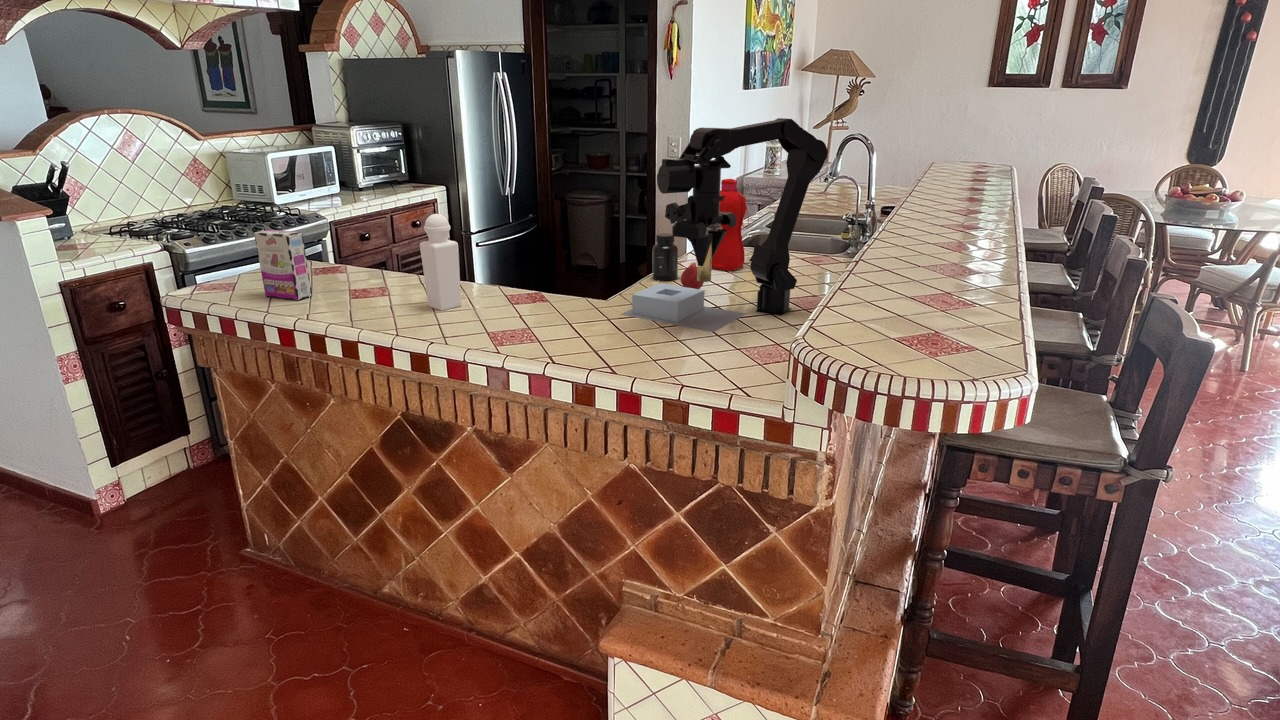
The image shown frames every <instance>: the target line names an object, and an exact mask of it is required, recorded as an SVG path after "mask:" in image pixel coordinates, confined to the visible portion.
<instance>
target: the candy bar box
mask: <svg viewBox="0 0 1280 720" xmlns="http://www.w3.org/2000/svg"><path fill="white" fill-rule="evenodd" d="M253 235H254V240H255V245H256V250H257V256H258V261H259V266H260V267H259V268H260V273H261V278H262V285H263V289H264V295H265V297H266V296H270V297H269V298H272V297H278V298H277V299H280V298H284V299H283V300H289V299H292V300H291V301H297V300H299V301H301V300H300V299H302V300H304V299H303V298H305V299H307V298H306V297H309V296H311V295H312V296H313V292H312V286H311V280H310V273H309V266H308V261H307V255H306V248H305V243H304V236H303V232H302V231H293V230H281V229H280V230H277V229H266V230H265V229H264V230H259V231H256V232H253ZM312 296H311V297H312ZM309 298H310V297H309Z"/></svg>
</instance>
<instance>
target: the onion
mask: <svg viewBox="0 0 1280 720" xmlns="http://www.w3.org/2000/svg"><path fill="white" fill-rule="evenodd" d="M697 270H698V266H697V262H695V261H694V262H693V261H692V262H691V263H690V265H689V266H687V267H686V268H685V269H684V270H683V271H682V273H681V277H680V284H681V285H682V287H687V288H693V289H700V290H701V288H702V287H703V285H704V283H705V282H700V281H697Z"/></svg>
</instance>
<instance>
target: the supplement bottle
mask: <svg viewBox="0 0 1280 720" xmlns="http://www.w3.org/2000/svg"><path fill="white" fill-rule="evenodd" d="M655 236H656V238H655V242H656V244H654V245H653V246H652V279H653V280H655V281H657V280H659V281H658V282H673V281H676V280H677V279H678V274H679V271H678V270H679V269H678V267H679V248H678V245H677V244H675V243H674V242H675V236H672V233H668V232H667V233H664V232H663V233H657V234H656V235H655ZM653 273H654V274H653ZM672 280H673V281H672Z"/></svg>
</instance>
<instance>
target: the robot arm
mask: <svg viewBox="0 0 1280 720" xmlns="http://www.w3.org/2000/svg"><path fill="white" fill-rule="evenodd" d="M776 140H777V141H778V143H779V144H780V146H781V148H782V149H783V150H784V151H785V152H786V153H787V158H786V171H787V179H786V182H785V184H784V185H785V186H784V188H783V191H782V193H781V197H780V200H779V203H778V205H777V209H776V211H775V215H774V218H773V221H772V223H771V226H770V229H769V233H768V235H767V238H766V240H764V242H763V243H762V244H758V243H755V244H754V248H753V252H752V255H751V257H750V258H749V262H750V268H749V269H750V271H751V273H752V275H753V276H754V277H755V281H756V283H757V284H759V290H757V296H756V297H757V299H756V300H757V301H756V307H757V308H756V309H755V312H757V313H761V314H762V313H763V314H769V315H774V316H780V317H781V316H783V315H785V314H786V313H788V312H790V311H791V310H792V309H793V308H792V307H790V298H791V290H794V289H795V288H796V285H797V281H798V280H797V278H795V276H794V275H793V274H792V273H791V272H790V271H789V265H790V261H791V258H790V257H791V256H790V252H789V251H790V250H789V245H790V241H791V238H792V235H793V233H794V230H795V226H796V223H797V220H798V217H799V214H800V211H801V208H802V205H803V203H804V200H805V198H806V197H805V196H806V194H807V191H808V188H809V185H810V183H811V182H812V181H813V180H814V179H815V177H817V175H819V173H820V172H821V170H822V168H823V167H824V165H825V162H826V161H827V158H828V153H829V149H828V147H827V144H826V143H825V142H824V141H823V140H821V139H818V138H816V137H815V136H814V135H813V134H812V133H810V132H808V131H807V130H806V129H804V128H802V127H801V126H800V125H799V124H798V123H797V121H795V120H794V119H792V118H784V117H783V118H782V117H778V118H776V119H774V120H769V121H763V122H757V123H753V124H752V123H751V124H747V125H742V126H736V127H729V128H727V127H726V128H724V127H698V128H695V129H694V130H693V132H692V134H691V135H690V138H689V143H688V144H687V145H686V147H685V149H684V150H683V151H682V153H681V155H680V156H679V158H677V159H670V158H662V160H661V165H660V166H659V169H658V171H657V174H656V184H657V188H658V191H659V192H660V193H661V194H663V195H664V194H665V195H667V194H679V193H680V194H681V193H689V192H691V190H692V195H689V196H688V197H687V203H683V204H681V205H679V204H678V203H677V202H676V201H675V202H672V203H669V204H667V205H666V206H665V215H664V217H665V218H666V219H667V220H669V222H670V224H671V225H672V224H673V226H671V227H672V228H671V234H672V236H674V238H675V237H676V238H685V239H687V240H688V241H689V242H690V243H691V247H692V248H693V249H692V250H693V252H694V256H695V259H696V264H697V266H698V265H699V266H703V265H704V263H705V260H706V257H707V254H708V251H709V247H710V244H711V241H712V259H713V257H714V255H715V253H716V251H717V249H718V247H719V245H720V243H721V241H722V239H723V238H724V236H725V234H726V233H727V231H728V230H724V229H722V226H721V224H723V225H728V226H729V227H734V226H737V217H736V216H735V214H734V213H730V212H720V201H723V200H724V195H720V191H721V182H722V179H721V178H722V177H721V176H722V169H730V168H731V166H732V165H731V163H729V162H728V161H727V160H726V159H725V157H724V156H726V155H727V154H730V153H731V152H733V151H734V150H736V149H739V148H743V147H747V146H752V145H756V144H760V143H761V144H762V143H766V142H767V143H768V142H771V141H776ZM708 233H709V234H712V235H708Z"/></svg>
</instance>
